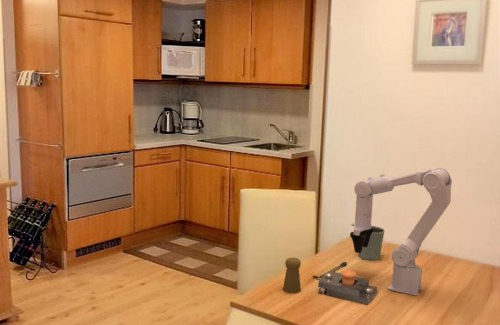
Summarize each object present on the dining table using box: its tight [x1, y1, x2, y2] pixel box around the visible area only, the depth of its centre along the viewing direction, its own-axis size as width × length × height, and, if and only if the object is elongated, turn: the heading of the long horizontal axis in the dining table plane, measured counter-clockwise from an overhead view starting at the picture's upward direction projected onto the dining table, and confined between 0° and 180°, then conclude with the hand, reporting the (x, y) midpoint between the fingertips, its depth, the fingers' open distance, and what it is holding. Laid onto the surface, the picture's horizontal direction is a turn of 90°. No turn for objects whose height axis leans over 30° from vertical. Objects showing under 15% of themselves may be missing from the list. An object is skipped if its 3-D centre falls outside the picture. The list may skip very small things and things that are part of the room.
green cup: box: [357, 225, 385, 262], centre depth 205 cm, size 10×10×12 cm
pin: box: [340, 269, 357, 286], centre depth 170 cm, size 5×5×7 cm
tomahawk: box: [312, 261, 348, 281], centre depth 188 cm, size 21×7×1 cm, turn 138°
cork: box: [282, 257, 302, 294], centre depth 171 cm, size 6×6×11 cm
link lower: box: [325, 284, 378, 305], centre depth 169 cm, size 14×11×3 cm
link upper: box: [317, 270, 370, 297], centre depth 171 cm, size 14×11×5 cm
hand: (361, 249), depth 183 cm, fingers open, 7 cm apart
